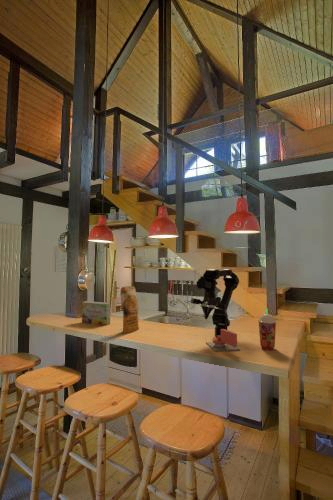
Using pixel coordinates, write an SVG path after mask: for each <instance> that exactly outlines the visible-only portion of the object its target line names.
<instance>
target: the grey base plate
mask: <svg viewBox="0 0 333 500" xmlns="http://www.w3.org/2000/svg"><path fill="white" fill-rule="evenodd" d="M205 343H206V345H207V344H208V345H209V346H210V347H209V346H208V345H207V346H208V347H209V348H210V349H212V350H213V351H214V352H215V351H220V352H234V351H235V350H239V351H241V348H240V347H238V346H237V347H233V346H231V345H228V344H215V343H213V341H208V342H207V341H206V342H205ZM235 352H236V351H235Z"/></svg>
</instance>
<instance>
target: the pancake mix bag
mask: <svg viewBox="0 0 333 500" xmlns="http://www.w3.org/2000/svg"><path fill="white" fill-rule="evenodd" d="M120 299H121V309H122V318H123V319H122V321H123V322H122V326H123V327H122V334H129V333H130V334H131V333H133V332H135V331H138V330H139V329H140V327H139V305H138V304H139V303H138V295H137V289H136V287H135V285H131V286H130V285H129V286H123V287H121V288H120Z"/></svg>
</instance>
